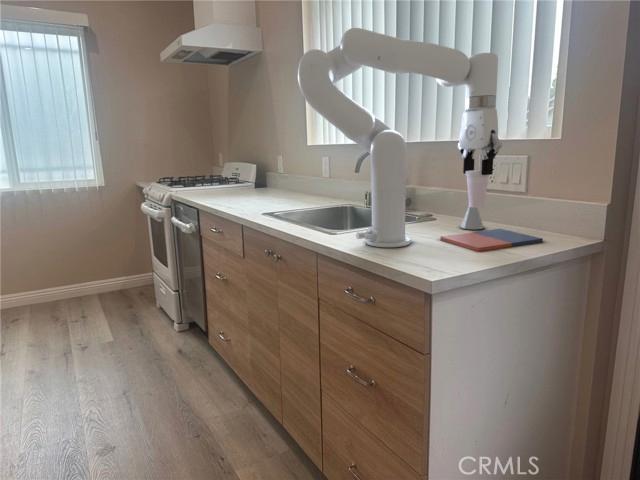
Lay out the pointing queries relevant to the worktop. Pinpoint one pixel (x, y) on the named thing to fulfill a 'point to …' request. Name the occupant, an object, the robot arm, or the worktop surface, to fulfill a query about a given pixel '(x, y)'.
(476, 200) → the smoothie
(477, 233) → the sorting board
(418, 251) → the worktop surface
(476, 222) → the flask
